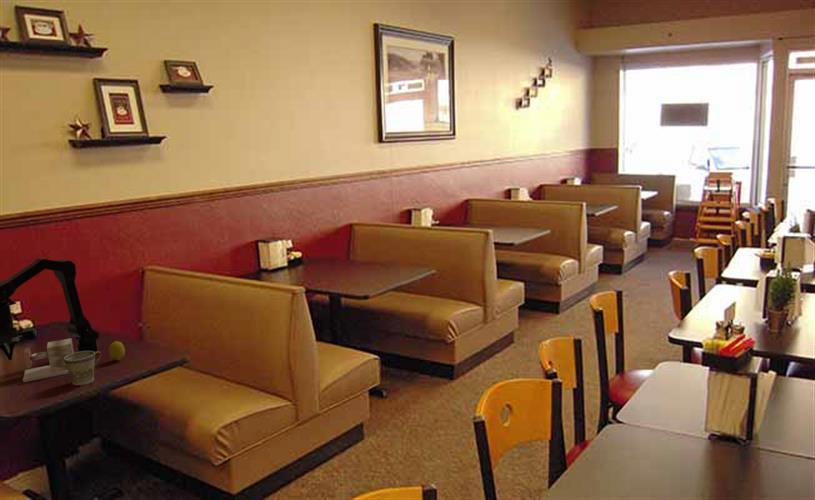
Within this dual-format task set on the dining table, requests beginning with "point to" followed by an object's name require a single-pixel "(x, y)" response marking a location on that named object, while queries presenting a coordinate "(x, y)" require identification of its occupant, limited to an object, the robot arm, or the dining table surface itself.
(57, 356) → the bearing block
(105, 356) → the dining table surface
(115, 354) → the lemon
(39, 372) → the mounting plate
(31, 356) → the shaft
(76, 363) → the ceramic cup
